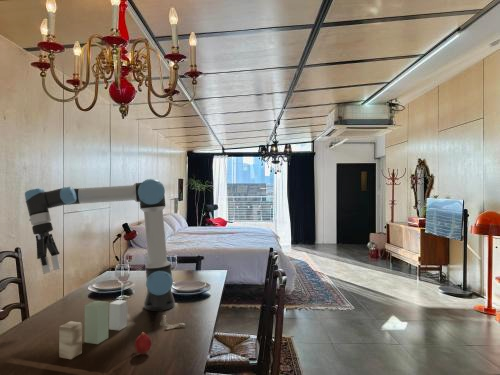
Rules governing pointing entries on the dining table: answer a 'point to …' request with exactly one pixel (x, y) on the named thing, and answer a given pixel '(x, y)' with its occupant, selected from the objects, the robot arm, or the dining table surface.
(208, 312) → the dining table surface
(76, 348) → the birch block
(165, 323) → the jawbone
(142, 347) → the red pomegranate
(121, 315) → the grey block
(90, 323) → the pale green block
